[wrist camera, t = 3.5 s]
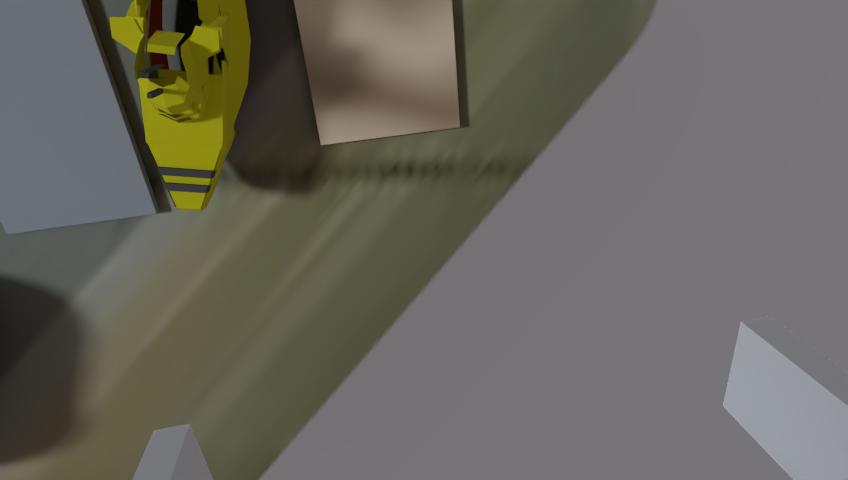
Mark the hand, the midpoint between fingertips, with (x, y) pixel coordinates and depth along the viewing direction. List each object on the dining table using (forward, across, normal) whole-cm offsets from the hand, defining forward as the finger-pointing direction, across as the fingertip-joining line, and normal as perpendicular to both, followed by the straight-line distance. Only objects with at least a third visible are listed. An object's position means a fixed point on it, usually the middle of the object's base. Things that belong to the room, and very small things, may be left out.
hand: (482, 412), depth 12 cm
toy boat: (+24, -10, +8) cm, 27 cm away
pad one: (+24, -20, +8) cm, 32 cm away
